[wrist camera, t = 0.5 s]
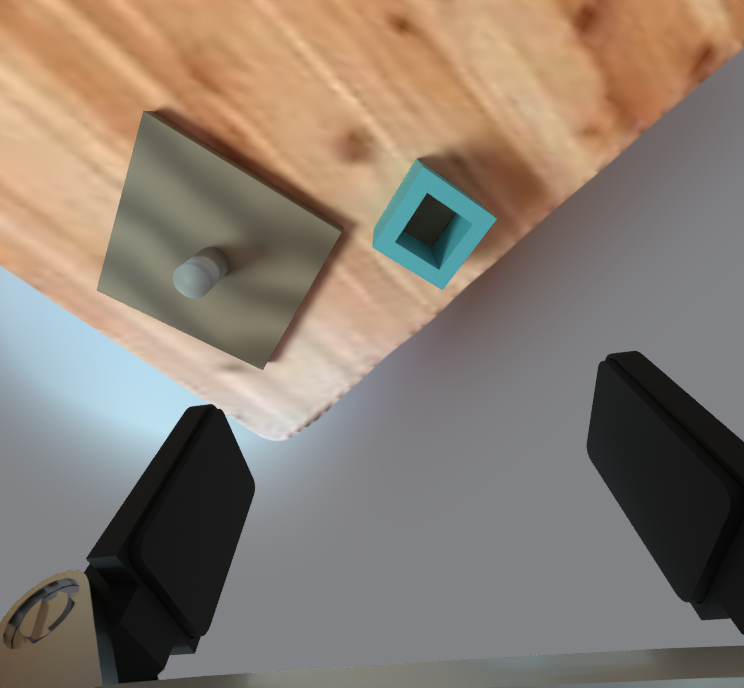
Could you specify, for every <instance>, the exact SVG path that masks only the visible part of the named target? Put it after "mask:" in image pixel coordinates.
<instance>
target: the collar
mask: <svg viewBox="0 0 744 688" xmlns="http://www.w3.org/2000/svg"><path fill="white" fill-rule="evenodd" d="M427 193H428V194H430V195H431V196H433V197H434V198H435V199H437V200H438V201H440V202H441V203H443V204H444V205H446V206H447V207H449V208H450V209H452V210H453V211H454V212H456V214H455V216H454V217H453V219H452V220H451V221H450V223H449V224H448V226H447V227H446V229H445V230H444V231H443V233H442V234H441V236H440V237H439V238H438V240H437V241H436V243H435V244H434V246H433V247H432V248H430V247H428V246H427V245H425V244H423V243H422V242H420V241H419V240H417V239H416V238H414V237H413V236H411V235H409V234H408V233H406V232H405V231H403V229H404V227H405V226H406V224H407V223H408V221H409V220H410V218H411V217H412V215H413V214H414V212H415V211H416V209H417V208H418V206H419V204H420V203H421V201H422V200H423V198H424V197H425V195H426V194H427ZM496 220H497V218H496V217H495V216H494V215H492V214H491V213H490V212H489V211H488V210H487V209H486V208H485V207H484V206H483V205H481V204H480V203H479V202H477V201H476V200H475V199H473V198H472V197H470V196H469V195H468V194H466V193H465V192H463V191H462V190H460V189H459V188H458V187H456V186H455V185H453V184H452V183H451V182H449V181H448V180H446V179H445V178H443V177H442V176H441V175H439V174H438V173H436V172H435V171H434V170H432V169H431V168H429V167H428V166H426V165H425V164H424V163H422V162H421V161H419V160H418V159H416V160H415V162H414V164H413V165H412V167H411V169H410V170H409V172H408V174H407V175H406V177H405V178H404V180H403V182H402V183H401V185H400V187H399V188H398V190H397V192H396V193H395V195H394V196H393V198H392V200H391V201H390V203H389V205H388V206H387V208H386V210H385V211H384V213H383V214H382V216H381V218H380V219H379V221H378V223H377V224H376V226H375V228H374V234H373V248H374V249H376V250H378V251H379V252H381V253H383V254H384V255H386V256H387V257H389V258H391V259H392V260H394V261H396V262H397V263H399V264H400V265H402V266H404V267H405V268H407V269H409V270H410V271H412V272H413V273H415V274H417V275H418V276H420V277H422V278H423V279H425V280H427V281H428V282H430V283H431V284H433V285H435V286H436V287H438V288H440V289H441V290H443V289H444V288H445V286H446V285H447V284H448V282H449V281H450V280H451V278H452V277H453V276H454V274H455V273H456V272H457V271H458V269H459V268H460V267H461V265H462V264H463V263H464V261H465V260H466V259H467V258H468V256H469V255H470V254H471V252H472V251H473V250H474V248H475V247H476V246H477V244H478V243H479V242H480V241H481V239H482V238H483V237H484V235H485V234H486V233H487V231H488V230H489V229H490V228H491V226H492V225H493V224H494V222H495V221H496Z"/></svg>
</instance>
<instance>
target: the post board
mask: <svg viewBox="0 0 744 688" xmlns="http://www.w3.org/2000/svg"><path fill="white" fill-rule="evenodd" d="M342 229H343V228H342V227H340V226H339V225H337V224H336V223H334V222H332V221H331V220H329V219H327V218H326V217H324V216H323V215H321V214H319V213H318V212H316V211H314V210H313V209H311V208H310V207H308V206H306V205H305V204H303V203H301V202H300V201H298V200H297V199H295V198H293V197H292V196H290V195H288V194H287V193H285V192H283V191H282V190H280V189H279V188H277V187H275V186H274V185H272V184H270V183H269V182H267V181H266V180H264V179H262V178H261V177H259V176H257V175H256V174H254V173H253V172H251V171H249V170H248V169H246V168H244V167H243V166H241V165H240V164H238V163H236V162H235V161H233V160H231V159H230V158H228V157H227V156H225V155H223V154H222V153H220V152H218V151H217V150H215V149H214V148H212V147H210V146H209V145H207V144H205V143H204V142H202V141H200V140H199V139H197V138H196V137H194V136H192V135H191V134H189V133H187V132H186V131H184V130H183V129H181V128H179V127H178V126H176V125H174V124H173V123H171V122H170V121H168V120H166V119H165V118H163V117H161V116H160V115H158V114H157V113H155V112H153V111H143V115H142V118H141V122H140V126H139V130H138V134H137V138H136V141H135V145H134V149H133V153H132V157H131V161H130V164H129V168H128V172H127V176H126V180H125V184H124V187H123V191H122V195H121V199H120V203H119V207H118V210H117V214H116V218H115V222H114V226H113V230H112V233H111V237H110V241H109V245H108V249H107V253H106V256H105V260H104V264H103V268H102V272H101V276H100V279H99V283H98V287H97V291H99V292H101V293H103V294H105V295H107V296H109V297H111V298H113V299H116V300H118V301H120V302H122V303H124V304H126V305H128V306H130V307H132V308H134V309H136V310H139V311H141V312H143V313H145V314H147V315H149V316H151V317H153V318H155V319H157V320H159V321H161V322H164V323H166V324H168V325H170V326H172V327H174V328H176V329H178V330H180V331H182V332H184V333H186V334H189V335H191V336H193V337H195V338H197V339H199V340H201V341H203V342H205V343H207V344H209V345H211V346H214V347H216V348H218V349H220V350H222V351H224V352H226V353H228V354H230V355H232V356H234V357H236V358H239V359H241V360H243V361H245V362H247V363H249V364H251V365H253V366H255V367H257V368H259V369H262V370H263V369H264V367H265V365H266V364H267V362H268V360H269V358H270V357H271V355H272V353H273V351H274V350H275V348H276V346H277V344H278V343H279V341H280V339H281V337H282V336H283V334H284V332H285V330H286V329H287V327H288V325H289V323H290V322H291V320H292V318H293V316H294V315H295V313H296V311H297V309H298V308H299V306H300V304H301V302H302V301H303V299H304V297H305V295H306V294H307V292H308V290H309V288H310V287H311V285H312V283H313V281H314V280H315V278H316V276H317V274H318V273H319V271H320V269H321V267H322V266H323V264H324V262H325V260H326V259H327V257H328V255H329V253H330V252H331V250H332V248H333V246H334V245H335V243H336V241H337V239H338V238H339V236H340V234H341V232H342Z"/></svg>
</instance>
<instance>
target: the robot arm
mask: <svg viewBox="0 0 744 688" xmlns="http://www.w3.org/2000/svg"><path fill="white" fill-rule="evenodd" d="M587 452H588V455H589V458H590V459H591V461H592V463H593V464H594V466H595V467H596V469H597V471H598V472H599V474H600V475H601V477H602V478H603V480H604V482H605V483H606V485H607V486H608V488H609V489H610V491H611V492H612V494H613V496H614V497H615V499H616V500H617V502H618V503H619V505H620V507H621V508H622V510H623V511H624V513H625V514H626V516H627V518H628V519H629V521H630V522H631V524H632V525H633V527H634V529H635V530H636V532H637V533H638V535H639V536H640V538H641V540H642V541H643V543H644V544H645V546H646V547H647V549H648V550H649V552H650V554H651V555H652V557H653V558H654V560H655V561H656V563H657V565H658V566H659V568H660V569H661V571H662V572H663V574H664V576H665V577H666V579H667V580H668V582H669V583H670V585H671V586H672V588H673V590H674V591H675V593H676V594H677V595H678V597H680V599H681V600H683V601H684V602H690V603H691V605H692V606H693V608H694V609H695V611H696V612H697V614H698V615H699V617H700V619H701V620H713V619H728V618H731V619H732V621H733V622H734V624H735V625H736V626H737V628H738V629H739V631H740V632H741V633H742V634H743V641H742V646H724V647H723V646H722V647H696V648H669V649H668V648H667V649H650V650H631V651H612V652H594V653H575V654H557V655H539V656H521V657H503V658H486V659H469V660H453V661H437V662H420V663H404V664H386V665H370V666H354V667H337V668H322V669H306V670H292V671H276V672H261V673H245V674H231V675H216V676H201V677H189V678H179V679H167V677H166V672H165V666H166V663H167V661H168V658H169V655H180V654H194V653H195V652H196V649H197V645H198V642H199V640H200V637H201V636H204V635H205V634H206V633H207V631H208V630H209V627H210V625H211V622H212V619H213V616H214V613H215V610H216V607H217V604H218V601H219V598H220V595H221V592H222V589H223V586H224V583H225V580H226V577H227V574H228V571H229V568H230V565H231V562H232V559H233V556H234V553H235V550H236V547H237V544H238V541H239V538H240V535H241V532H242V529H243V526H244V523H245V520H246V517H247V514H248V511H249V508H250V505H251V502H252V499H253V496H254V492H255V483H254V479H253V477H252V475H251V472H250V470H249V468H248V466H247V463H246V461H245V459H244V457H243V455H242V453H241V450H240V448H239V446H238V443H237V441H236V439H235V437H234V434H233V432H232V430H231V428H230V425H229V423H228V421H227V419H226V417H225V414H224V412H223V411H222V410H221V409H217V408H216V407H215V406H214V405H212V404H208V405H200V406H192V407H189V408H188V409H187V410H186V411H185V412H184V414H183V415H182V417H181V418H180V420H179V421H178V423H177V424H176V426H175V427H174V429H173V430H172V432H171V433H170V435H169V436H168V438H167V439H166V441H165V442H164V443H163V445H162V447H161V448H160V450H159V451H158V453H157V454H156V455H155V457H154V458H153V460H152V461H151V463H150V464H149V466H148V467H147V469H146V471H145V472H144V473H143V475H142V476H141V478H140V479H139V481H138V482H137V484H136V485H135V487H134V488H133V490H132V491H131V493H130V494H129V496H128V497H127V498H126V500H125V501H124V503H123V505H122V506H121V507H120V509H119V510H118V512H117V513H116V515H115V516H114V518H113V519H112V521H111V522H110V524H109V525H108V527H107V528H106V530H105V531H104V533H103V534H102V536H101V537H100V539H99V540H98V542H97V543H96V545H95V546H94V548H93V549H92V550H91V552H90V554H89V555H88V557H87V558H86V559H87V560H88V561H89V563H90V564H89V566H88V567H87V569H86V571H85V572H84V573H82V572H80V571H79V570H71V571H70V570H68V571H65V572H61V573H58V574H55V575H53V576H51V577H49V578H47V579H46V580H44V581H42V582H40V583H39V584H37V585H36V586H35V587H33V588H32V589H30V590H29V591H28V592H27V593H26V594H24V595H23V596H22V597H21V598H20V599H19V600H18V601H17V602H16V603H15V604H14V605H13V606H12V608H11V609H10V610H9V611H8V612H7V614H6V615H5V616H4V617H3V619H2V621H1V622H0V688H744V442H743V441H742V440H741V439H739V437H737V436H736V435H735V434H734V433H733V432H732V431H730V430H729V429H728V428H727V427H726V426H725V425H724V424H722V423H721V422H720V421H719V420H718V419H716V418H715V417H714V416H713V415H712V414H711V413H710V412H708V411H707V410H706V409H705V408H704V407H703V406H702V405H700V404H699V403H698V402H697V401H696V400H695V399H693V398H692V397H691V396H690V395H689V394H688V393H686V392H685V391H684V390H683V389H682V388H681V387H679V386H678V385H677V384H676V383H675V382H674V381H672V380H671V379H670V378H669V377H668V376H667V375H666V374H664V373H663V372H662V371H661V370H660V369H659V368H657V367H656V366H655V365H654V364H653V363H652V362H651V361H649V360H648V359H647V358H646V357H645V356H644V355H642V354H641V353H640V352H638V351H630V352H621V353H614V354H609V355H608V356H607V357H606V360H605V361H602V362H600V364H599V366H598V372H597V379H596V385H595V392H594V399H593V405H592V412H591V419H590V425H589V432H588V439H587Z"/></svg>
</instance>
